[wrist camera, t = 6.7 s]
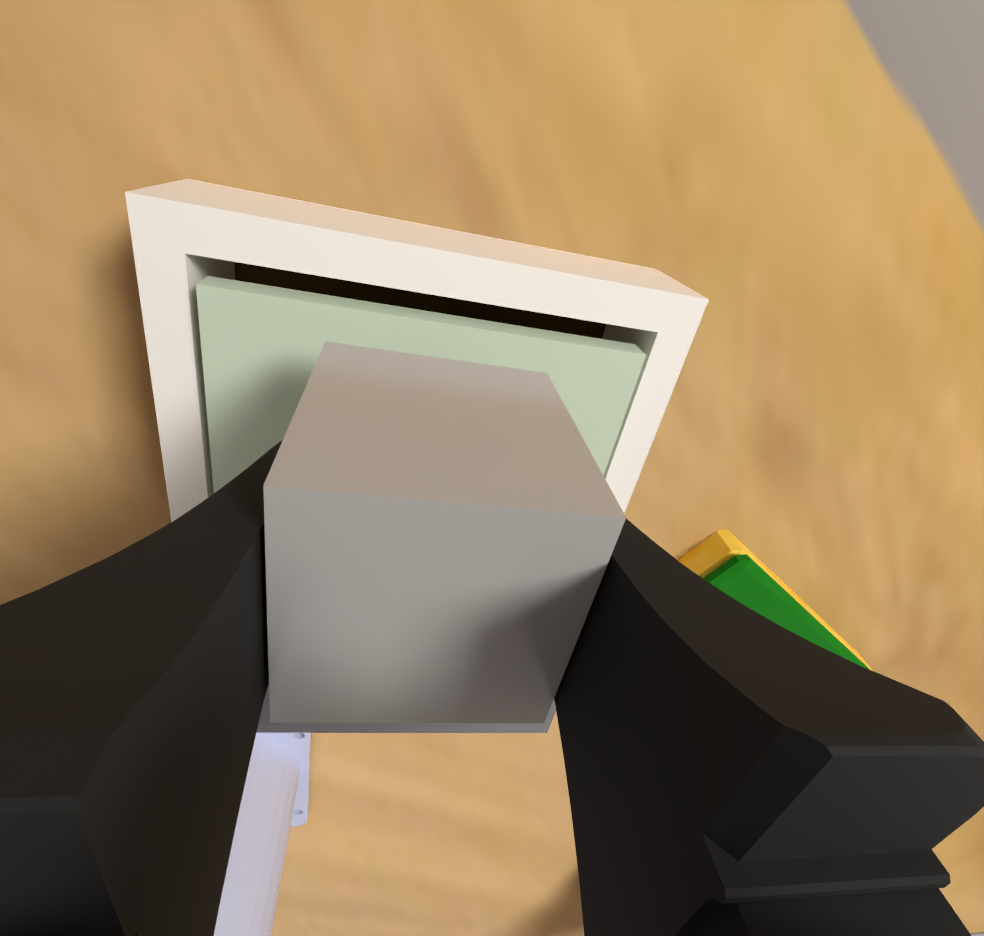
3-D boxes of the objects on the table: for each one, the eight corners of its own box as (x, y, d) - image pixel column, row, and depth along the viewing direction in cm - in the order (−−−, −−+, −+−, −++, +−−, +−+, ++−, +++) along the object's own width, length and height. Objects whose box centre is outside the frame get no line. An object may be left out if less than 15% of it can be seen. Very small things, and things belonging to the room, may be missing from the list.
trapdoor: (536, 635, 20) (559, 732, 17) (234, 623, 18) (193, 732, 14) (635, 344, 14) (699, 407, 11) (208, 275, 12) (132, 328, 9)
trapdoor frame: (544, 601, 23) (563, 670, 20) (221, 584, 21) (188, 660, 18) (657, 269, 16) (710, 299, 13) (185, 178, 14) (122, 191, 11)
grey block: (503, 539, 13) (544, 723, 9) (318, 525, 13) (270, 723, 8) (547, 372, 11) (626, 517, 7) (325, 341, 10) (263, 485, 6)
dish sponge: (718, 519, 23) (748, 557, 21) (854, 648, 29) (887, 687, 27) (592, 614, 25) (608, 657, 23) (743, 715, 31) (766, 756, 29)
